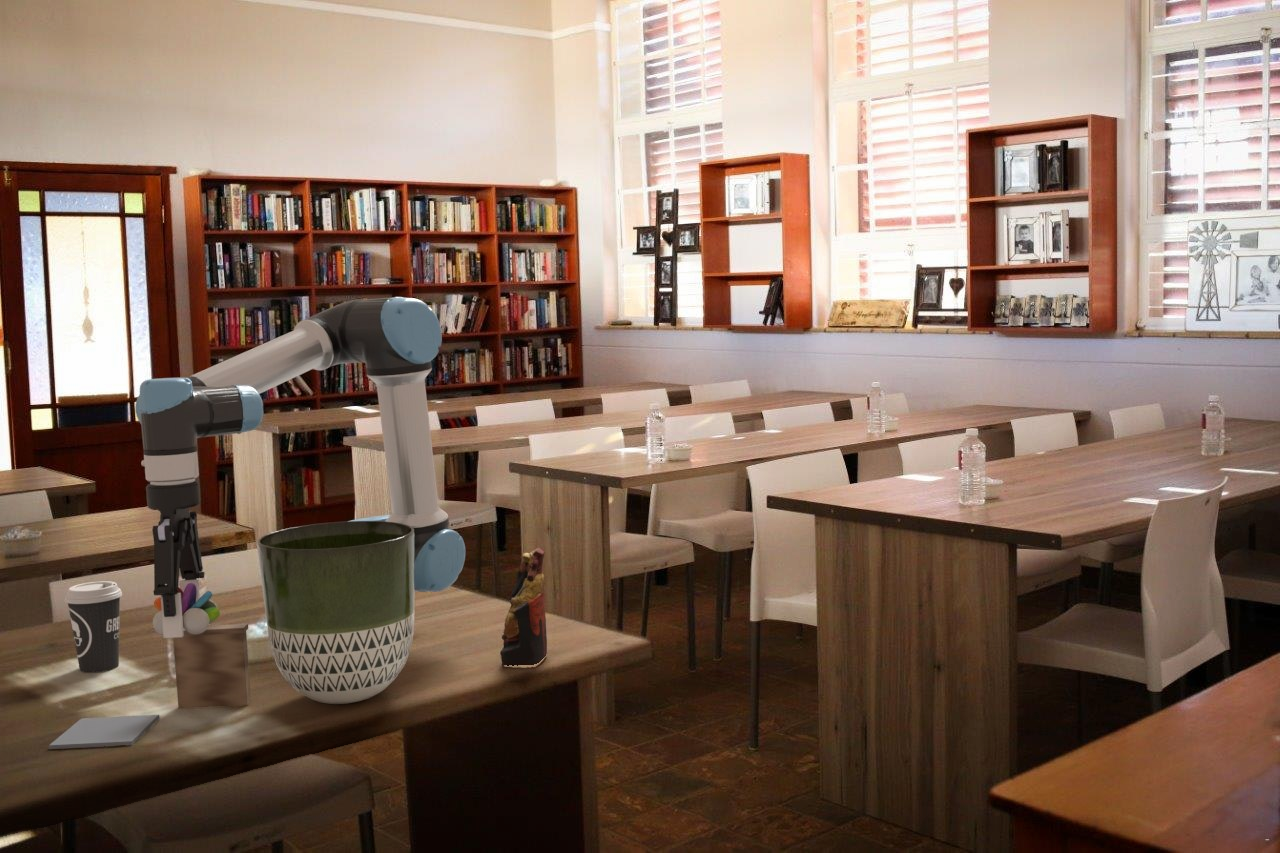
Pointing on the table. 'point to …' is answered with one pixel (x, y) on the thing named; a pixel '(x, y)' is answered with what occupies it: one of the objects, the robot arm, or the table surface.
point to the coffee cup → (95, 624)
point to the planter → (339, 606)
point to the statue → (526, 615)
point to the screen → (213, 667)
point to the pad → (104, 731)
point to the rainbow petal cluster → (191, 611)
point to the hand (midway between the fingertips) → (183, 628)
